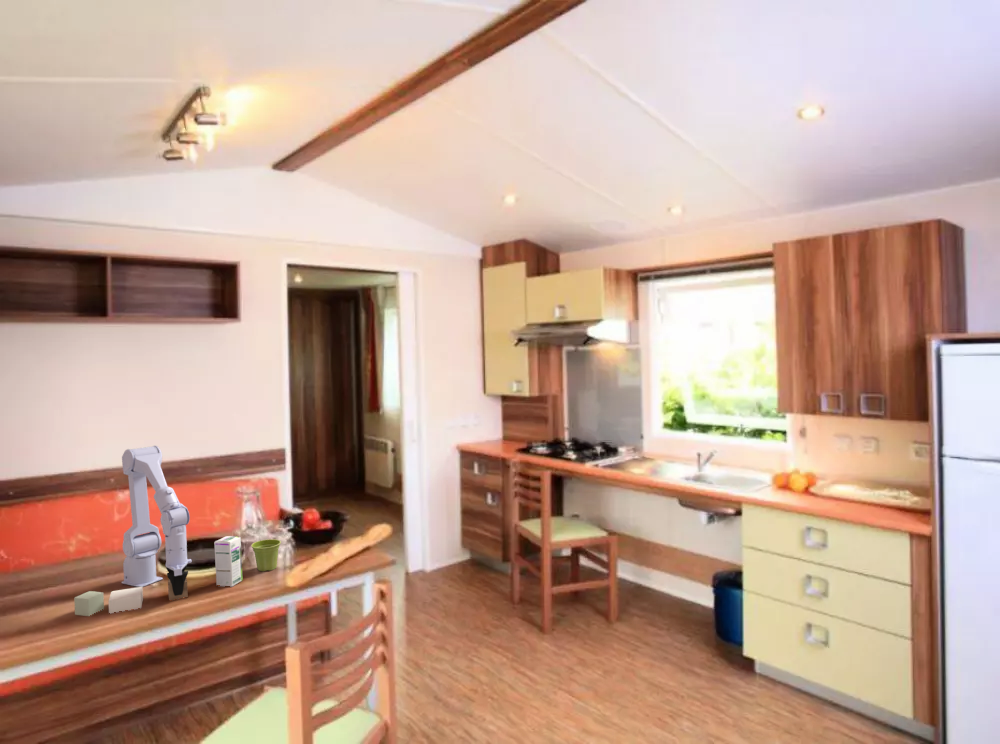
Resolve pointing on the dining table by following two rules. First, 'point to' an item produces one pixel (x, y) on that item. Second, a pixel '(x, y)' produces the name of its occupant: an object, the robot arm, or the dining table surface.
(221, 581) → the syrup box
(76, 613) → the sage green block
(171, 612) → the dining table surface
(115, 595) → the base block
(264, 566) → the plant pot
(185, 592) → the walnut block
